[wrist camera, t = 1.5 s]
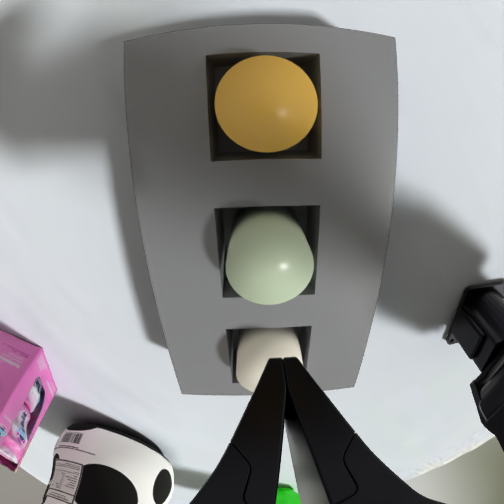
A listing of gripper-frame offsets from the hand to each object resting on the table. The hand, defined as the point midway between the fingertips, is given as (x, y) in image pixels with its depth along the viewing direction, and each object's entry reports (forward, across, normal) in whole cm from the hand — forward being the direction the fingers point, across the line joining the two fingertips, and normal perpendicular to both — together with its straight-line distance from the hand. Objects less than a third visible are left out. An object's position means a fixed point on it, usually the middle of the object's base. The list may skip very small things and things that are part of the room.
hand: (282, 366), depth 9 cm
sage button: (+10, 0, 0) cm, 10 cm away
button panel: (+12, 0, 0) cm, 12 cm away
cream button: (+10, 0, +8) cm, 13 cm away
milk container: (+12, +21, +32) cm, 40 cm away
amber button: (+10, 0, -8) cm, 13 cm away
